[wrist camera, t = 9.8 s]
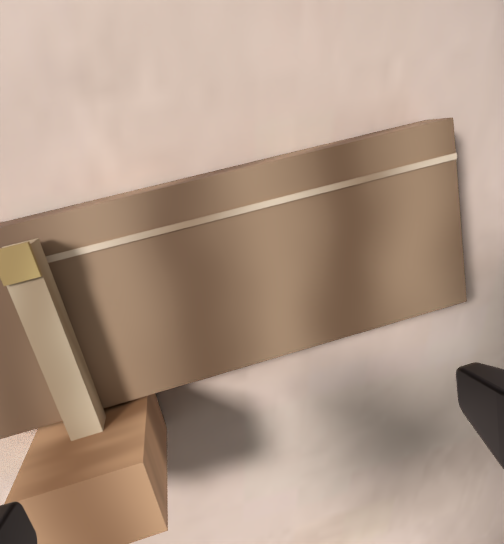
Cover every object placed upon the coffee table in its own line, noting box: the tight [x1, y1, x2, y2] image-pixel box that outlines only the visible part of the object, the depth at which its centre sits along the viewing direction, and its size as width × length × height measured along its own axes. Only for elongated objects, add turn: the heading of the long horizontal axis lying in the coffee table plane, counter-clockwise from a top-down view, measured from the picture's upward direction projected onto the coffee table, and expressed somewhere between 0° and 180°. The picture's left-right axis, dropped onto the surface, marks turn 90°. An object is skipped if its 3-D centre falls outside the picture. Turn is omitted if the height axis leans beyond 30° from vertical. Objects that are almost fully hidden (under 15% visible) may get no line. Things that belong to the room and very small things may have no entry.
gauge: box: [0, 238, 168, 544], centre depth 17 cm, size 4×11×6 cm, turn 12°
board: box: [0, 118, 467, 439], centre depth 19 cm, size 22×8×2 cm, turn 102°
